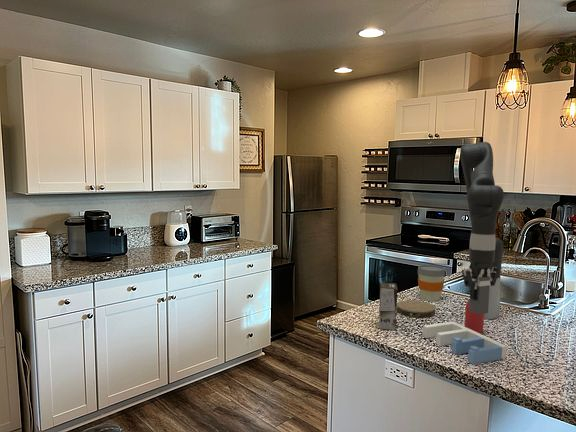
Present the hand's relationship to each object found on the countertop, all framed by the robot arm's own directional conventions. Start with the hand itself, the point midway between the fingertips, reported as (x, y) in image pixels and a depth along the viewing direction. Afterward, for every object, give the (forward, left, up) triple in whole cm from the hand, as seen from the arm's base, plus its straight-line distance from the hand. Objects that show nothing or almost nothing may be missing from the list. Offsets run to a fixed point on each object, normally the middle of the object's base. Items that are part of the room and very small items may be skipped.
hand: (479, 299), depth 139 cm
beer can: (-16, -17, -19) cm, 31 cm away
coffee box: (+12, -33, -19) cm, 40 cm away
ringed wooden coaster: (-9, -43, -20) cm, 49 cm away
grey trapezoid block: (0, 0, -4) cm, 4 cm away
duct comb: (0, -7, -19) cm, 21 cm away
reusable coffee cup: (-28, -57, -19) cm, 67 cm away
